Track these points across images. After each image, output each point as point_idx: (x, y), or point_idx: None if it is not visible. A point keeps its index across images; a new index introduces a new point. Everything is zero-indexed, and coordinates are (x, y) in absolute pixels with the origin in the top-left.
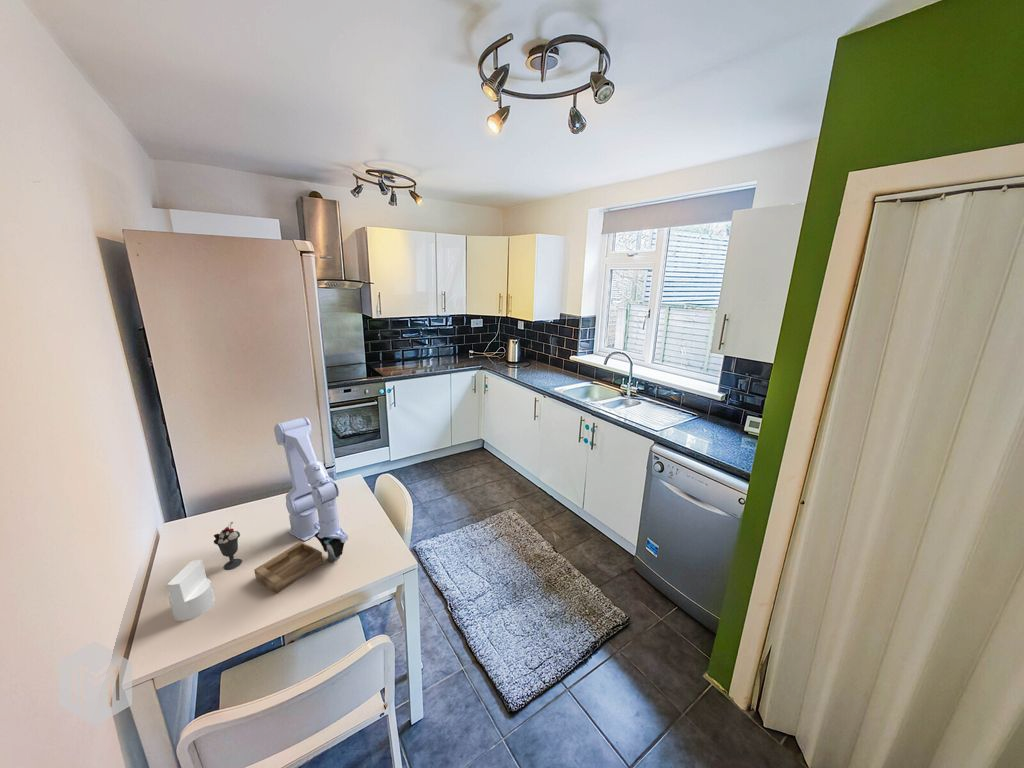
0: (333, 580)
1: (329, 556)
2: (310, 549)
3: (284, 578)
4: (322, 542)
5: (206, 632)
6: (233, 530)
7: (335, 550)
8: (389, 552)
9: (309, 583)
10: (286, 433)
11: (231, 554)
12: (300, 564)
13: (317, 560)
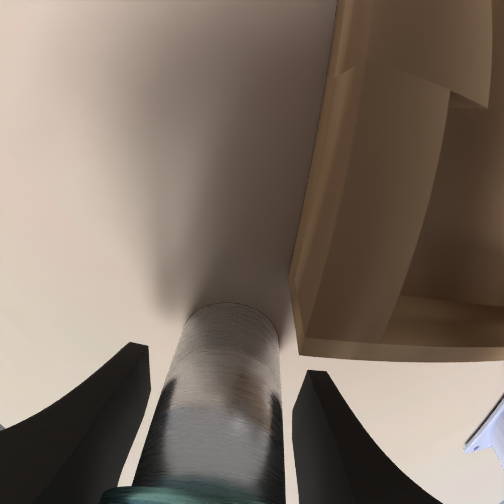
0: (22, 142)
1: (221, 338)
2: (474, 332)
3: None
4: (343, 476)
5: None
6: None
7: (50, 405)
8: (13, 415)
9: (177, 9)
10: None
11: None
12: (409, 37)
13: (306, 247)
